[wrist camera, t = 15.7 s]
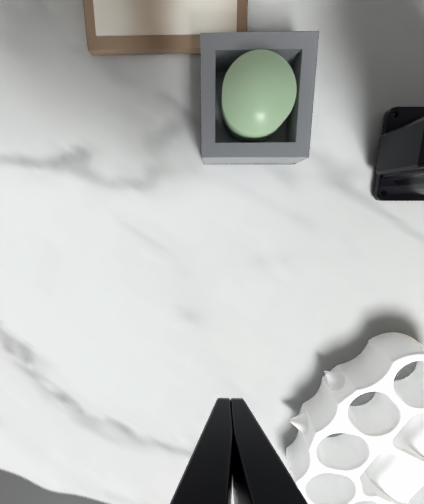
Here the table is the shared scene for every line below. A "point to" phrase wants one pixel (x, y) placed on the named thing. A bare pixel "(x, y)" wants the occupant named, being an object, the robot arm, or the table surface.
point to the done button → (257, 95)
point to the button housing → (212, 76)
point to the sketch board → (158, 24)
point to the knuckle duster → (364, 429)
